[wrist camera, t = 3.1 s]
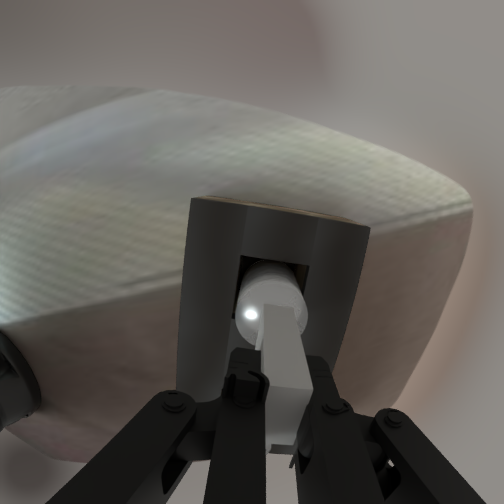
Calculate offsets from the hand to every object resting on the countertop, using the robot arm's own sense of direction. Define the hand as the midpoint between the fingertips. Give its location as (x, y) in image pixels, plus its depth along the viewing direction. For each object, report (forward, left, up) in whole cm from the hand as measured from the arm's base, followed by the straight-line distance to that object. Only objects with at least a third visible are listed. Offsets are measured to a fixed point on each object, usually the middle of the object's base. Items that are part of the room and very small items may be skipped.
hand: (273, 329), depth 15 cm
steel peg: (0, 0, -7) cm, 7 cm away
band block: (0, -6, -11) cm, 13 cm away
